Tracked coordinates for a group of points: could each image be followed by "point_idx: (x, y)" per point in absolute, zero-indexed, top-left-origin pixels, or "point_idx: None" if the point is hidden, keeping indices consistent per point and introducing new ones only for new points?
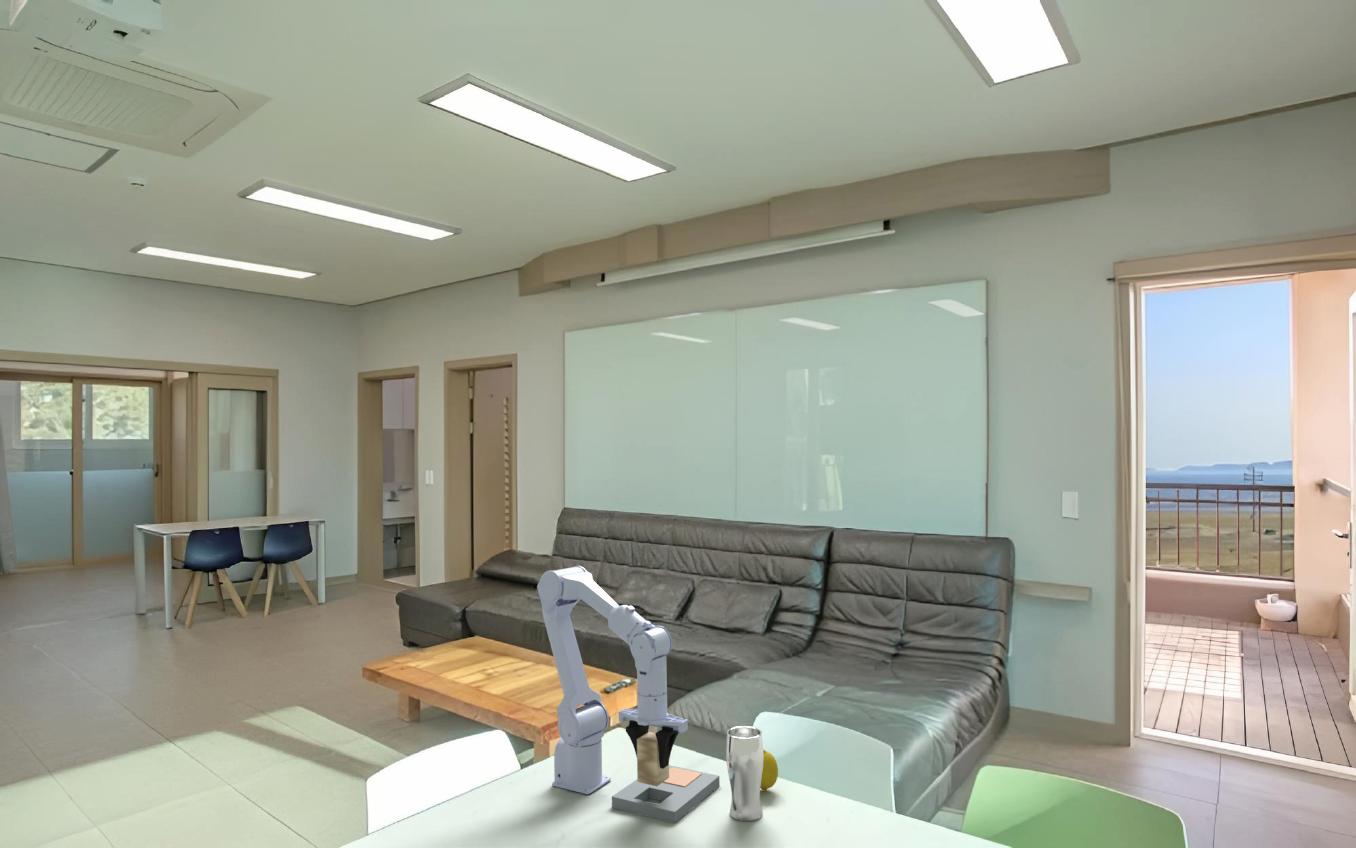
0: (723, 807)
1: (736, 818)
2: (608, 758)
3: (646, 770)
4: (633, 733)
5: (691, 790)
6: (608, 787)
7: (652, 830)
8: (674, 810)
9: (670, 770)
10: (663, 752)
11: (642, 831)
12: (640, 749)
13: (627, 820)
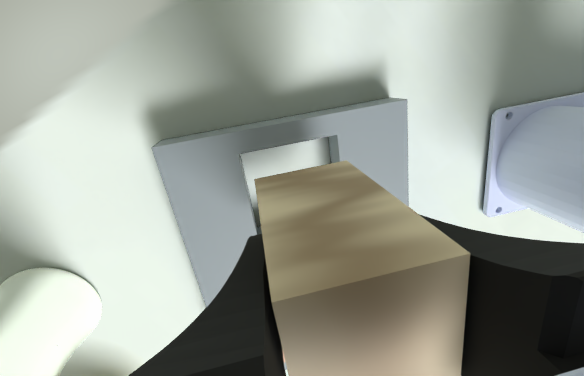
0: (134, 294)
1: (35, 269)
2: None
3: (316, 187)
4: (544, 264)
5: None
6: (467, 184)
7: (180, 56)
8: (161, 155)
9: None
10: (226, 283)
11: (200, 28)
12: (396, 224)
13: (295, 60)
